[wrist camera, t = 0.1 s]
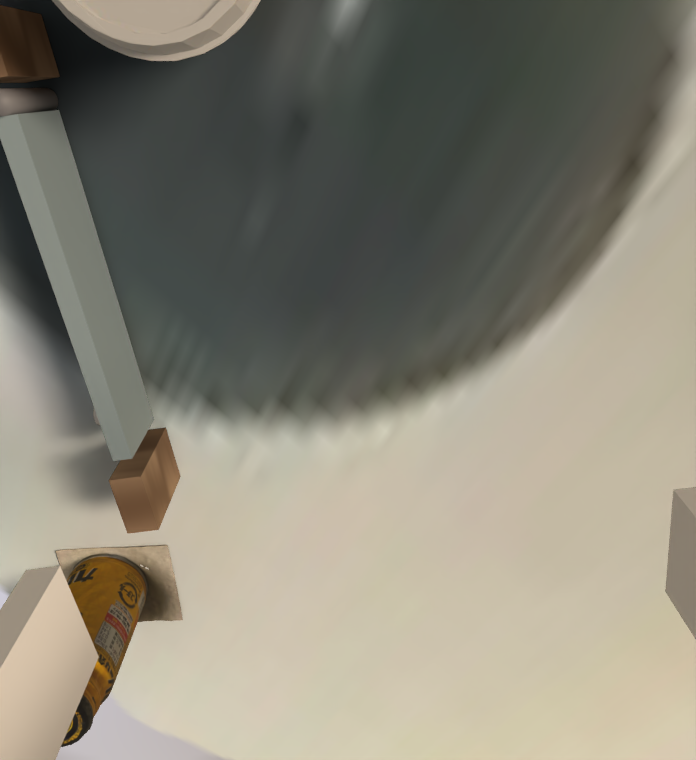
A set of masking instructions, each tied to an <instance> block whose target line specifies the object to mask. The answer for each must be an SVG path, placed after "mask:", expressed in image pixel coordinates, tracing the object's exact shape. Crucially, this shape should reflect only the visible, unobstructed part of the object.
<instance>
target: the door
mask: <svg viewBox="0 0 696 760" xmlns="http://www.w3.org/2000/svg"><path fill="white" fill-rule="evenodd" d="M57 106H58V98H57V95H56V94H55V92H54V91H52V90H51V89H49V88H3V89H0V116H2V117H0V139H1V142H2V145H3V148H4V151H5V154H6V157H7V159H8V162H9V165H10V168H11V171H12V174H13V177H14V179H15V182H16V185H17V188H18V191H19V194H20V197H21V199H22V202H23V205H24V208H25V211H26V214H27V217H28V220H29V222H30V225H31V228H32V231H33V234H34V237H35V240H36V242H37V245H38V248H39V251H40V254H41V257H42V260H43V262H44V265H45V268H46V271H47V274H48V277H49V280H50V283H51V285H52V288H53V291H54V294H55V297H56V300H57V303H58V305H59V308H60V311H61V314H62V317H63V320H64V323H65V325H66V328H67V331H68V334H69V337H70V340H71V343H72V346H73V348H74V351H75V354H76V357H77V360H78V363H79V366H80V368H81V371H82V374H83V377H84V380H85V383H86V386H87V388H88V391H89V394H90V397H91V400H92V403H93V406H94V410H93V416H94V420H95V422H96V424H98V425H100V426H101V429H102V431H103V434H104V437H105V440H106V443H107V446H108V449H109V451H110V454H111V457H112V460H113V461H118V460H126V459H132V458H133V456H134V455H135V453H136V451H137V449H138V447H139V446H140V444H141V442H142V440H143V438H144V437H145V435H146V433H147V431H148V429H149V428H150V426H151V424H152V422H153V421H154V417H153V414H152V410H151V407H150V404H149V401H148V397H147V394H146V391H145V388H144V384H143V381H142V378H141V375H140V371H139V368H138V365H137V362H136V358H135V355H134V352H133V349H132V345H131V342H130V339H129V336H128V332H127V329H126V326H125V323H124V319H123V316H122V313H121V310H120V306H119V303H118V300H117V297H116V293H115V290H114V287H113V284H112V280H111V277H110V274H109V271H108V268H107V264H106V261H105V258H104V255H103V251H102V248H101V245H100V242H99V238H98V235H97V232H96V229H95V225H94V222H93V219H92V216H91V212H90V209H89V206H88V203H87V199H86V196H85V193H84V190H83V186H82V183H81V180H80V177H79V173H78V170H77V167H76V164H75V160H74V157H73V154H72V151H71V147H70V144H69V141H68V138H67V134H66V131H65V128H64V125H63V121H62V118H61V115H60V112H59V110H55V109H56V108H57Z"/></svg>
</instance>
